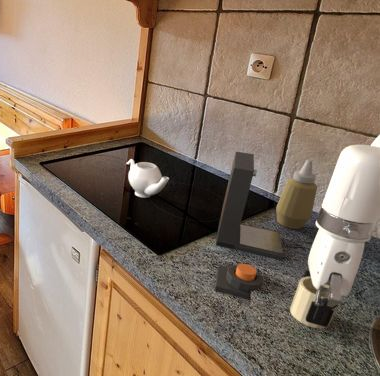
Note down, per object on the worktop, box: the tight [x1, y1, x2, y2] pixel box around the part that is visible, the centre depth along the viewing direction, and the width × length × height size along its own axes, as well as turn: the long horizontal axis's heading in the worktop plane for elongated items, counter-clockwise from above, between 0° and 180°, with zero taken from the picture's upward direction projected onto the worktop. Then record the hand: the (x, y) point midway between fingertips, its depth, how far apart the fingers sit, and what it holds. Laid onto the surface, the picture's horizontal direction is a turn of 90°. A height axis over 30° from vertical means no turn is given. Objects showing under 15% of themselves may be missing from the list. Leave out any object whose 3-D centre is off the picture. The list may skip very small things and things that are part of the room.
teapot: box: [125, 158, 170, 199], centre depth 119 cm, size 10×20×9 cm, turn 21°
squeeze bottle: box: [275, 159, 318, 230], centre depth 103 cm, size 8×8×18 cm
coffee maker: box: [215, 151, 284, 261], centre depth 95 cm, size 14×12×20 cm
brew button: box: [235, 263, 258, 281], centre depth 81 cm, size 4×4×2 cm
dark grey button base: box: [214, 264, 271, 301], centre depth 82 cm, size 10×8×3 cm
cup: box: [289, 277, 343, 329], centre depth 72 cm, size 6×6×8 cm
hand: (312, 305), depth 72 cm, fingers open, 9 cm apart
